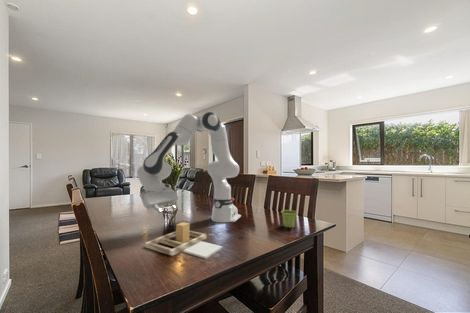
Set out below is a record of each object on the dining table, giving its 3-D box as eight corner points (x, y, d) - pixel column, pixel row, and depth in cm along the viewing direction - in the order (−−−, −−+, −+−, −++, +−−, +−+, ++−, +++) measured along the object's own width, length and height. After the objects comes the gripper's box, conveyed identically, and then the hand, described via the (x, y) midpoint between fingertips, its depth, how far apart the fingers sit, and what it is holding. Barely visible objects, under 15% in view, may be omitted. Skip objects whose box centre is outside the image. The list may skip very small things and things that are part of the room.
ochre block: (182, 237, 108) (182, 222, 108) (189, 239, 105) (189, 223, 105) (176, 240, 104) (176, 224, 104) (182, 242, 101) (183, 225, 102)
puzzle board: (181, 232, 116) (181, 228, 116) (206, 238, 107) (206, 234, 107) (145, 247, 96) (145, 242, 96) (172, 255, 87) (172, 250, 87)
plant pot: (295, 224, 132) (295, 210, 132) (298, 229, 122) (298, 214, 122) (280, 223, 132) (280, 209, 133) (282, 228, 123) (282, 213, 123)
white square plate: (201, 242, 101) (201, 241, 101) (222, 248, 95) (222, 246, 95) (183, 252, 91) (183, 250, 91) (205, 258, 85) (205, 256, 85)
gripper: (141, 188, 105) (154, 210, 100) (172, 184, 123) (184, 203, 118) (135, 196, 107) (147, 218, 102) (166, 191, 125) (178, 210, 120)
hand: (167, 210), depth 110 cm, fingers open, 8 cm apart
